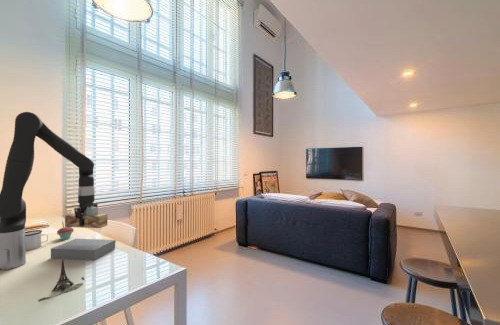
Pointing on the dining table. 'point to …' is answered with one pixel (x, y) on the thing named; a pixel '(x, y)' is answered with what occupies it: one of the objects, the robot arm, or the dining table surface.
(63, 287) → the eiffel tower figurine
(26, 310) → the dining table surface
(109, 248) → the dock
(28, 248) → the mug
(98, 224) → the brown wooden box
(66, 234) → the cupcake
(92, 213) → the crate
